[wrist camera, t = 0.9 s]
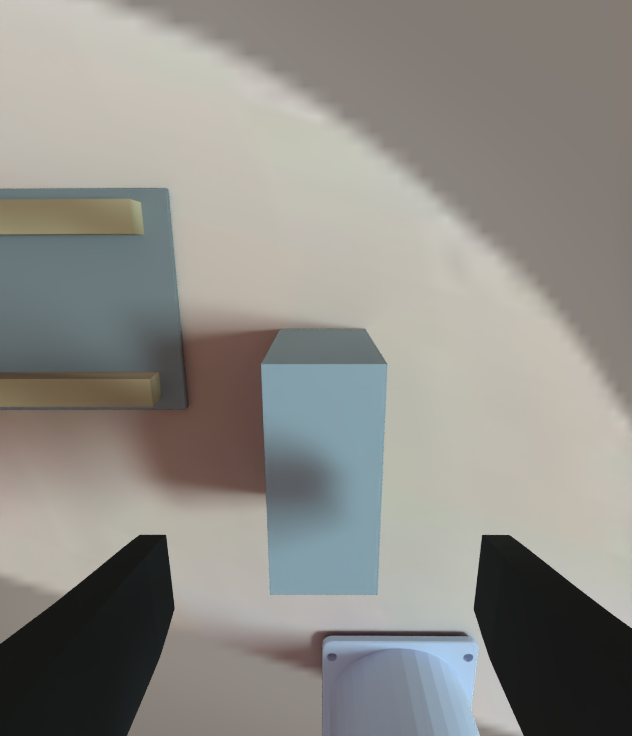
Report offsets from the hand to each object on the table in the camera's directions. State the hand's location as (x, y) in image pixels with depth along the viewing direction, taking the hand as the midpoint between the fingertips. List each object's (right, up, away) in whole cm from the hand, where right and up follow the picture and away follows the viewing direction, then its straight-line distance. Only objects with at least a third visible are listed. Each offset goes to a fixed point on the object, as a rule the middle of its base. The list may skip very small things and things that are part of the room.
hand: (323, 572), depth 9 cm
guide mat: (-11, +7, +8) cm, 15 cm away
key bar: (0, +2, +9) cm, 10 cm away
